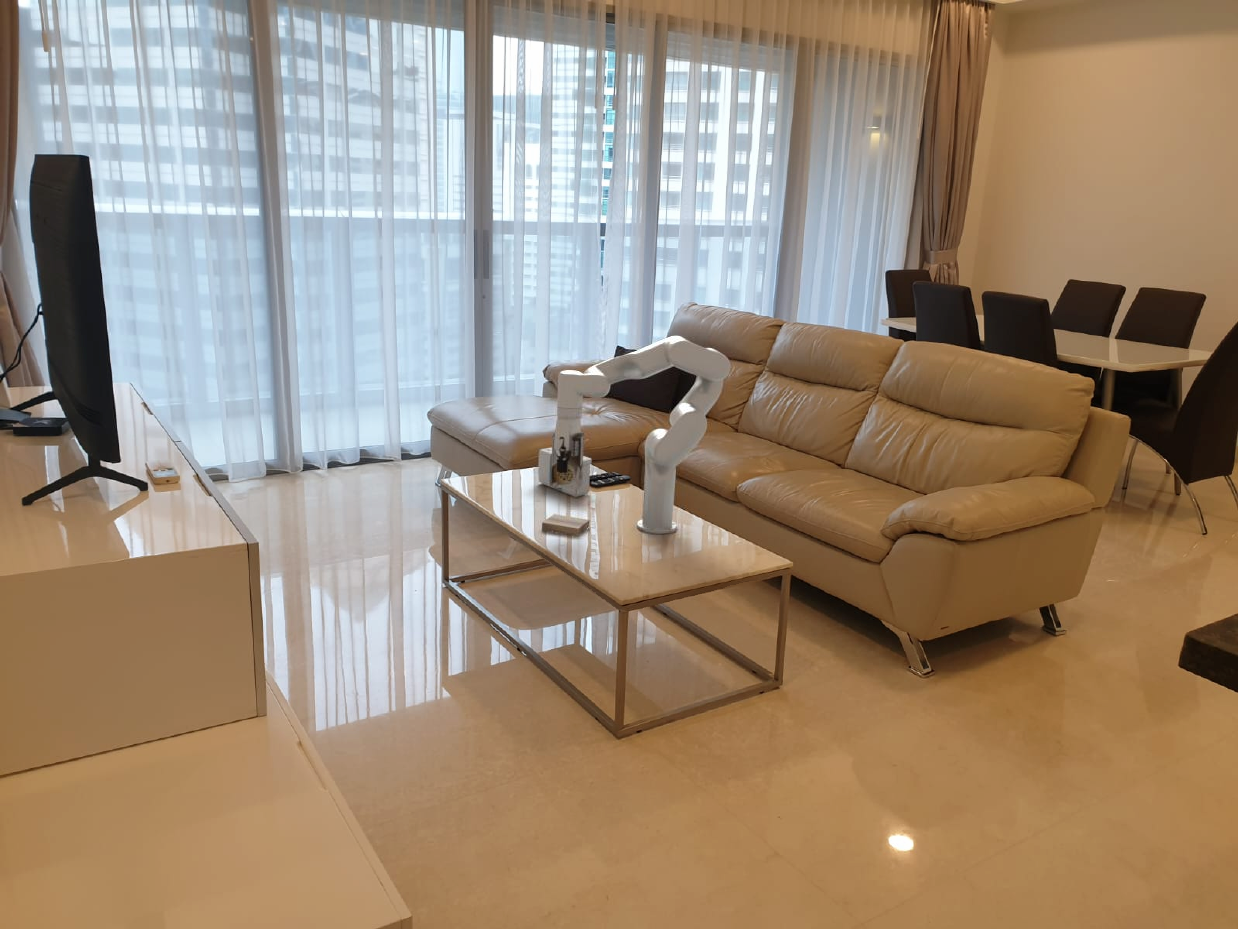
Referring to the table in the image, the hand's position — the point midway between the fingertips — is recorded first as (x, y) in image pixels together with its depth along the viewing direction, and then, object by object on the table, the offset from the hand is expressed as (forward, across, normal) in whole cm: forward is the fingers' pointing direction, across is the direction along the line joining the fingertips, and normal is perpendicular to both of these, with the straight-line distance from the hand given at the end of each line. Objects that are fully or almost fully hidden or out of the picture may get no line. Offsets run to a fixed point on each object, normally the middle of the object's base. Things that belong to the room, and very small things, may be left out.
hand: (567, 468), depth 275 cm
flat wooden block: (+19, 0, 0) cm, 19 cm away
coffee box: (+6, 0, 0) cm, 6 cm away
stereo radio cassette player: (+20, -38, -17) cm, 46 cm away
